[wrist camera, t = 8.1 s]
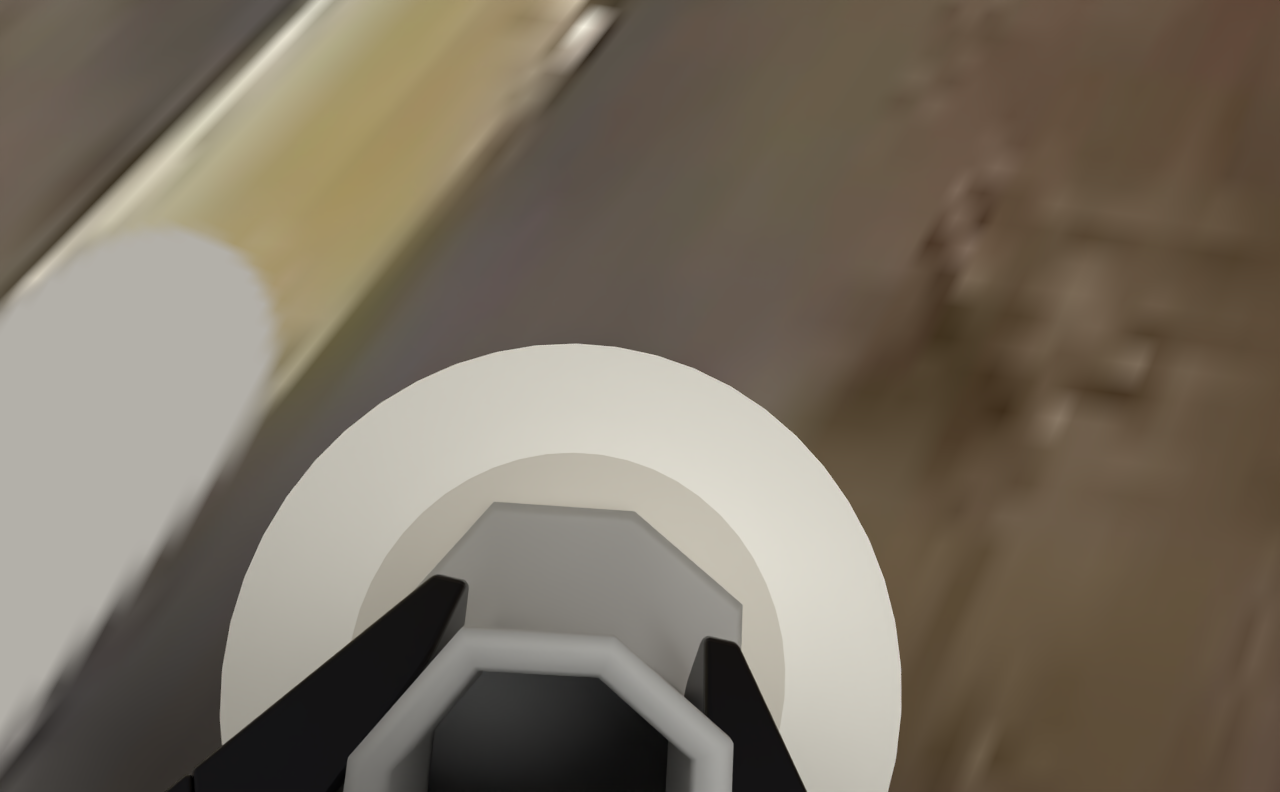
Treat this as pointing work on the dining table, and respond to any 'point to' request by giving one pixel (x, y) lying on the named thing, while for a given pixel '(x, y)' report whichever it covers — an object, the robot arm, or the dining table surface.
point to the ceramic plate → (600, 479)
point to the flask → (561, 666)
